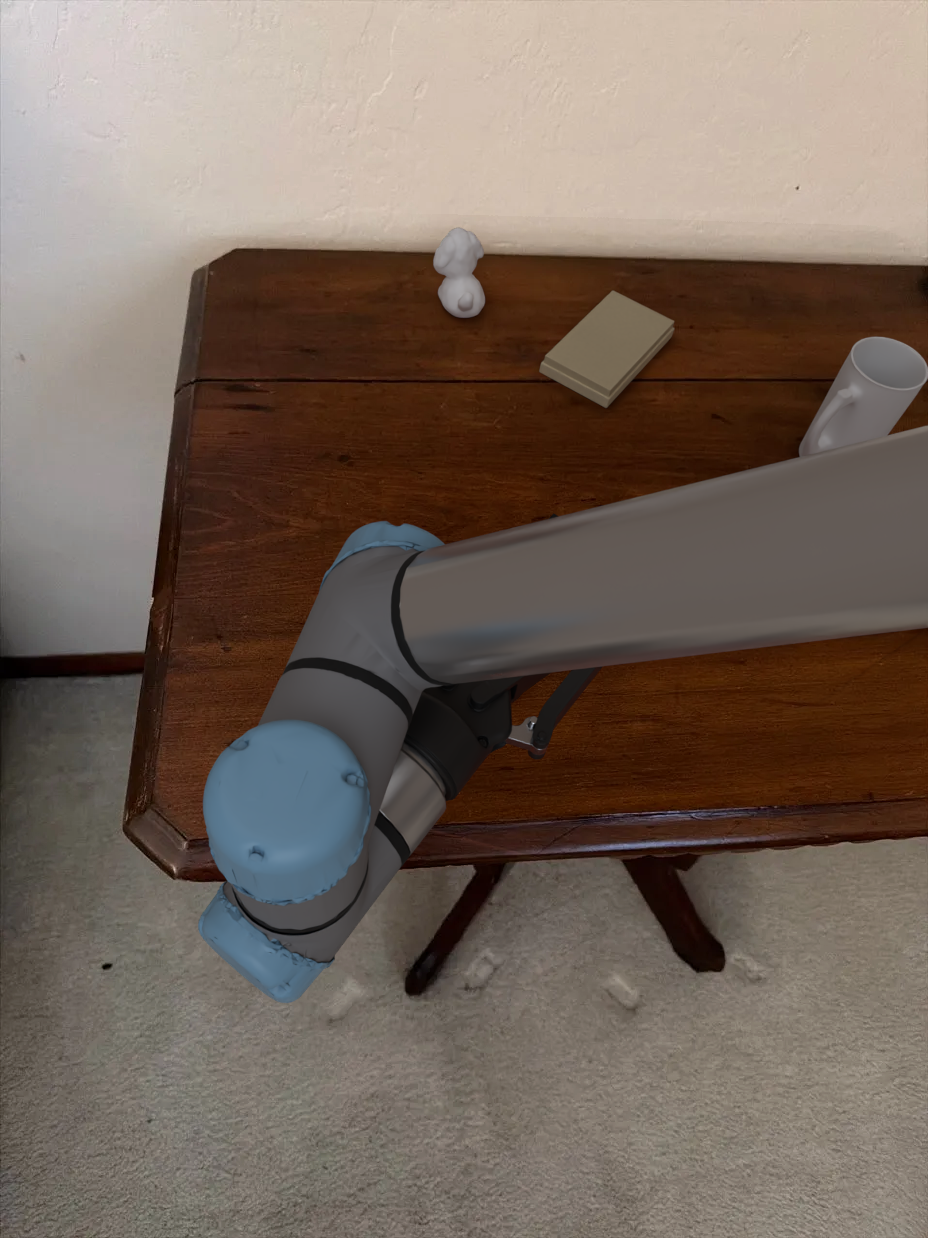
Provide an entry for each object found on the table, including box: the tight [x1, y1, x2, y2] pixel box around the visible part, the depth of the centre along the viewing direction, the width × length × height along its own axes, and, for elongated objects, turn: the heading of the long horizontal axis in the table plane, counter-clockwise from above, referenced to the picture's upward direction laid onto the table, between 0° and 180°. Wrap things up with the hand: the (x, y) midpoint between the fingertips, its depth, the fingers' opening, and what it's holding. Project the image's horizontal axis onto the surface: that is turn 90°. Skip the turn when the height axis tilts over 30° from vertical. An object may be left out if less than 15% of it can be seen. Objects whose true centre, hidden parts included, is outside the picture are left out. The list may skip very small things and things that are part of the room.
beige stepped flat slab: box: [538, 290, 675, 409], centre depth 91 cm, size 8×14×2 cm, turn 145°
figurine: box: [432, 226, 486, 319], centre depth 90 cm, size 5×8×8 cm
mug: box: [798, 336, 928, 457], centre depth 80 cm, size 10×7×12 cm, turn 124°
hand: (586, 546), depth 68 cm, fingers closed on pill bottle, 5 cm apart
